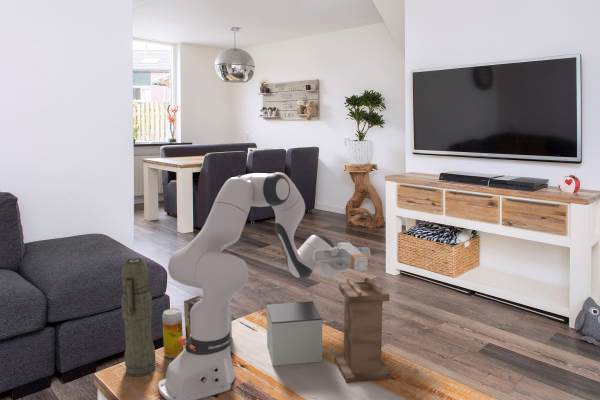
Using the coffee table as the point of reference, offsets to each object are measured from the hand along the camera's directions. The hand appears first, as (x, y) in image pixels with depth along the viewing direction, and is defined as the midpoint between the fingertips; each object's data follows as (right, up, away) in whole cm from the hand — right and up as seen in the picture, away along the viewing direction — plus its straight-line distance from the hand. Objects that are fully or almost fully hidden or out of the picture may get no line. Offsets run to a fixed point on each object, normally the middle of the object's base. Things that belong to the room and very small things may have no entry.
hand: (346, 249), depth 159 cm
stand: (+3, -36, -13) cm, 38 cm away
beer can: (-57, -35, -3) cm, 67 cm away
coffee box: (-50, -34, +3) cm, 60 cm away
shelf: (-18, -34, -2) cm, 38 cm away
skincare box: (-44, -32, +10) cm, 55 cm away
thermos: (-65, -36, -12) cm, 76 cm away
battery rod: (+1, -3, -5) cm, 6 cm away
